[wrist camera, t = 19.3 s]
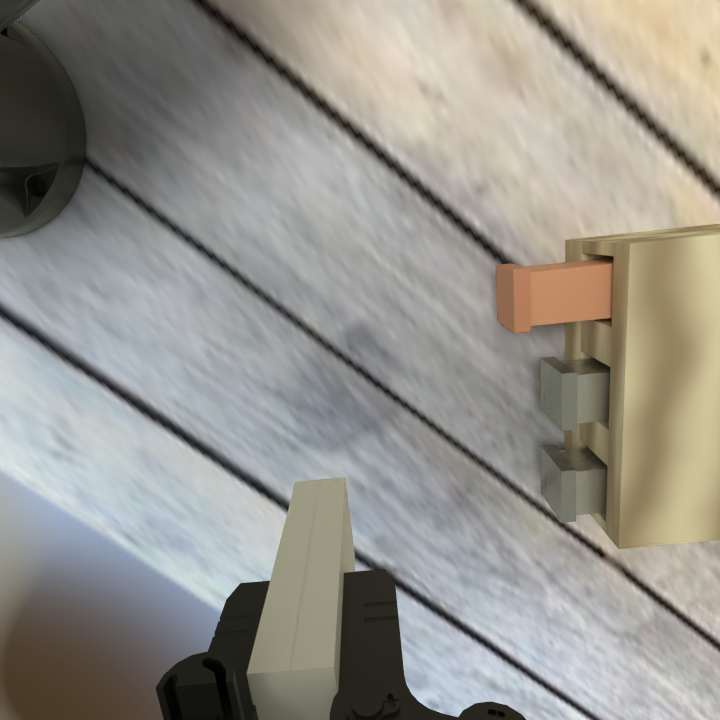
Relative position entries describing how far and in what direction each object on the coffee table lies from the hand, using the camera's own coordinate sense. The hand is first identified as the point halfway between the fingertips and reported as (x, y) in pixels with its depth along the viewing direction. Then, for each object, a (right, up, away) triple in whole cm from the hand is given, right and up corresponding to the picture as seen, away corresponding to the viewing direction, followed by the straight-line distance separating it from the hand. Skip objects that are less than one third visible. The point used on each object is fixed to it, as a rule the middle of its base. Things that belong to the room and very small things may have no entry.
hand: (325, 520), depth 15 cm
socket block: (+25, +5, +24) cm, 35 cm away
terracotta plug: (+19, +10, +19) cm, 29 cm away
